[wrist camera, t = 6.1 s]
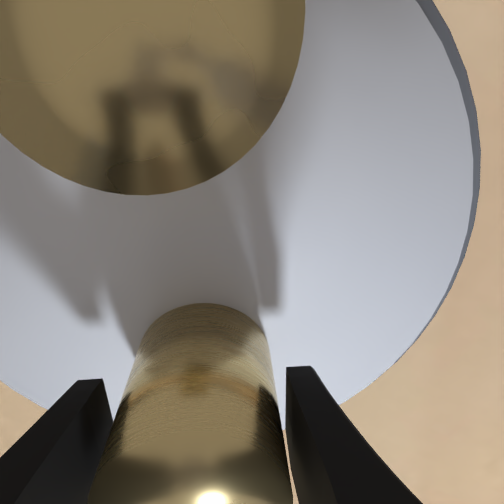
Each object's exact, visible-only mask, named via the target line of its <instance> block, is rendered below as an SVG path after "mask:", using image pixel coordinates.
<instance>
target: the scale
mask: <svg viewBox="0 0 504 504" xmlns="http://www.w3.org/2000/svg"><path fill="white" fill-rule="evenodd" d="M480 157H481V149H480V140H479V131H478V121H477V112H476V107H475V104H474V100H473V96H472V92H471V88H470V84H469V80H468V76H467V72H466V69H465V66H464V64H463V61H462V59H461V57H460V54H459V52H458V49H457V47H456V44H455V42H454V39H453V37H452V35H451V32H450V30H449V28H448V26H447V25H446V23H445V21H444V19H443V18H442V16H441V14H440V13H439V11H438V9H437V8H436V6H435V4H434V2H433V1H432V0H305V23H304V35H303V42H302V47H301V52H300V57H299V62H298V66H297V69H296V72H295V75H294V78H293V81H292V84H291V87H290V90H289V92H288V94H287V96H286V98H285V101H284V103H283V105H282V107H281V109H280V111H279V112H278V114H277V116H276V117H275V119H274V121H273V122H272V124H271V125H270V127H269V128H268V130H267V131H266V132H265V133H264V135H263V136H262V137H261V138H260V140H259V141H258V142H257V143H256V145H255V146H254V147H253V148H252V149H251V150H249V151H248V152H247V153H246V154H245V155H244V156H243V157H242V158H241V159H240V160H239V161H237V162H236V163H235V164H233V165H232V166H231V167H229V168H228V169H227V170H225V171H224V172H222V173H220V174H218V175H217V176H215V177H213V178H211V179H209V180H207V181H205V182H203V183H200V184H198V185H195V186H193V187H190V188H187V189H183V190H179V191H175V192H171V193H165V194H156V195H124V194H117V193H110V192H104V191H101V190H97V189H93V188H89V187H86V186H83V185H80V184H78V183H75V182H73V181H70V180H68V179H65V178H63V177H61V176H59V175H57V174H56V173H54V172H52V171H50V170H48V169H46V168H44V167H43V166H41V165H40V164H38V163H37V162H35V161H34V160H32V159H31V158H29V157H28V156H26V155H25V154H23V153H22V152H21V151H20V150H19V149H17V148H16V147H15V146H14V145H13V144H12V143H10V142H9V141H8V140H7V139H6V138H4V137H3V136H2V135H1V134H0V380H1V381H2V382H3V383H5V384H6V385H7V386H9V387H10V388H11V389H13V390H14V391H16V392H18V393H19V394H21V395H23V396H24V397H26V398H28V399H29V400H31V401H33V402H34V403H36V404H38V405H39V406H41V407H43V408H45V409H47V410H48V409H49V408H50V407H51V406H52V405H53V404H54V403H55V402H56V401H57V400H58V399H59V398H60V397H61V396H62V395H63V394H64V393H65V392H66V391H67V390H68V389H69V388H70V387H71V386H72V385H73V384H74V383H75V382H76V381H77V380H85V379H101V378H103V381H104V385H105V389H106V393H107V398H108V402H109V406H110V410H111V414H112V419H113V422H114V419H115V416H116V413H117V410H118V407H119V404H120V401H121V398H122V395H123V393H124V390H125V387H126V384H127V381H128V378H129V375H130V372H131V369H132V366H133V363H134V361H135V358H136V355H137V352H138V349H139V346H140V343H141V340H142V338H143V336H144V334H145V332H146V331H147V329H148V328H149V326H150V325H151V324H152V323H153V322H154V321H155V320H157V319H158V318H159V317H160V316H162V315H163V314H165V313H167V312H168V311H170V310H173V309H175V308H177V307H181V306H184V305H189V304H194V303H214V304H220V305H224V306H228V307H231V308H233V309H236V310H238V311H240V312H242V313H244V314H245V315H247V316H248V317H249V318H251V319H252V320H253V321H254V322H255V323H256V324H257V325H258V326H259V327H260V329H261V330H262V331H263V333H264V335H265V337H266V339H267V342H268V345H269V350H270V356H271V362H272V369H273V375H274V381H275V387H276V394H277V400H278V406H279V413H280V419H281V425H282V430H284V429H285V409H286V367H294V366H311V367H313V368H314V369H315V371H316V373H317V374H318V376H319V377H320V379H321V381H322V382H323V384H324V385H325V387H326V388H327V390H328V391H329V392H330V394H331V395H332V397H333V398H334V400H335V401H336V402H337V404H338V405H340V404H342V403H343V402H345V401H347V400H348V399H350V398H351V397H353V396H354V395H355V394H357V393H358V392H360V391H361V390H363V389H364V388H366V387H367V386H368V385H370V384H371V383H372V382H374V381H375V380H376V379H377V378H378V377H379V376H381V375H382V374H383V373H384V372H385V371H386V370H388V369H389V368H390V367H391V366H392V365H393V364H395V363H396V362H397V361H398V360H399V359H400V357H401V356H402V355H403V354H404V353H405V352H406V351H407V350H408V349H409V348H410V347H411V346H412V345H413V344H414V342H415V341H416V340H417V339H418V338H419V336H420V335H421V334H422V332H423V331H424V330H425V328H426V327H427V326H428V324H429V323H430V322H431V320H432V319H433V318H434V316H435V315H436V313H437V311H438V310H439V308H440V306H441V304H442V303H443V301H444V299H445V298H446V296H447V294H448V292H449V291H450V289H451V287H452V285H453V282H454V280H455V278H456V275H457V273H458V271H459V268H460V266H461V264H462V261H463V259H464V257H465V253H466V250H467V246H468V243H469V240H470V236H471V233H472V229H473V226H474V221H475V215H476V208H477V202H478V196H479V189H480Z"/></svg>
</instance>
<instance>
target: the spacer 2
mask: <svg viewBox="0 0 504 504" xmlns="http://www.w3.org/2000/svg"><path fill="white" fill-rule="evenodd" d="M88 504H293V494H292V488H291V482H290V475H289V469H288V463H287V456H286V450H285V444H284V438H283V431H282V425H281V419H280V413H279V406H278V400H277V394H276V387H275V381H274V375H273V369H272V362H271V356H270V350H269V345H268V342H267V339H266V337H265V335H264V333H263V331H262V330H261V329H260V327H259V326H258V325H257V324H256V323H255V322H254V321H253V320H252V319H251V318H249V317H248V316H247V315H245V314H244V313H242V312H240V311H238V310H236V309H233V308H231V307H228V306H224V305H220V304H214V303H194V304H189V305H184V306H181V307H177V308H175V309H173V310H170V311H168V312H167V313H165V314H163V315H162V316H160V317H159V318H158V319H157V320H155V321H154V322H153V323H152V324H151V325H150V326H149V328H148V329H147V331H146V332H145V334H144V336H143V338H142V340H141V343H140V346H139V349H138V352H137V355H136V358H135V361H134V363H133V366H132V369H131V372H130V375H129V378H128V381H127V384H126V387H125V390H124V393H123V395H122V398H121V401H120V404H119V407H118V410H117V413H116V416H115V419H114V422H113V424H112V427H111V430H110V433H109V436H108V439H107V442H106V445H105V448H104V451H103V454H102V456H101V459H100V462H99V465H98V468H97V471H96V474H95V477H94V480H93V483H92V486H91V489H90V492H89V495H88Z"/></svg>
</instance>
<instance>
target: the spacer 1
mask: <svg viewBox="0 0 504 504" xmlns="http://www.w3.org/2000/svg"><path fill="white" fill-rule="evenodd" d="M304 23H305V0H0V134H1V135H2V136H3V137H4V138H6V139H7V140H8V141H9V142H10V143H12V144H13V145H14V146H15V147H16V148H17V149H19V150H20V151H21V152H22V153H23V154H25V155H26V156H28V157H29V158H31V159H32V160H34V161H35V162H37V163H38V164H40V165H41V166H43V167H44V168H46V169H48V170H50V171H52V172H54V173H56V174H57V175H59V176H61V177H63V178H65V179H68V180H70V181H73V182H75V183H78V184H80V185H83V186H86V187H89V188H93V189H97V190H101V191H104V192H110V193H117V194H124V195H156V194H165V193H171V192H175V191H179V190H183V189H187V188H190V187H193V186H195V185H198V184H200V183H203V182H205V181H207V180H209V179H211V178H213V177H215V176H217V175H218V174H220V173H222V172H224V171H225V170H227V169H228V168H229V167H231V166H232V165H233V164H235V163H236V162H237V161H239V160H240V159H241V158H242V157H243V156H244V155H245V154H246V153H247V152H248V151H249V150H251V149H252V148H253V147H254V146H255V145H256V143H257V142H258V141H259V140H260V138H261V137H262V136H263V135H264V133H265V132H266V131H267V130H268V128H269V127H270V125H271V124H272V122H273V121H274V119H275V117H276V116H277V114H278V112H279V111H280V109H281V107H282V105H283V103H284V101H285V98H286V96H287V94H288V92H289V90H290V87H291V84H292V81H293V78H294V75H295V72H296V69H297V66H298V62H299V57H300V52H301V47H302V42H303V35H304Z"/></svg>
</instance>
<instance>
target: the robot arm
mask: <svg viewBox="0 0 504 504" xmlns="http://www.w3.org/2000/svg"><path fill="white" fill-rule="evenodd" d="M112 424H113V419H112V414H111V410H110V406H109V402H108V398H107V393H106V389H105V385H104V381H103V378H101V379H85V380H77V381H76V382H75V383H74V384H73V385H72V386H71V387H70V388H69V389H68V390H67V391H66V392H65V393H64V394H63V395H62V396H61V397H60V398H59V399H58V400H57V401H56V402H55V403H54V404H53V405H52V406H51V407H50V408H49V409H48V410H47V411H46V413H45V414H44V415H43V416H42V417H41V418H40V419H39V420H38V421H37V422H36V423H35V424H34V425H33V426H32V427H31V428H30V429H29V430H28V431H27V432H26V433H25V434H24V435H23V436H22V437H21V438H20V439H19V440H18V441H17V442H16V443H15V444H14V445H13V446H12V447H11V448H10V449H9V450H8V451H6V452H5V453H4V454H3V455H2V456H1V457H0V504H88V495H89V492H90V489H91V486H92V483H93V480H94V477H95V474H96V471H97V468H98V465H99V462H100V459H101V456H102V454H103V451H104V448H105V445H106V442H107V439H108V436H109V433H110V430H111V427H112ZM285 429H286V436H287V444H288V451H289V458H290V465H291V471H292V476H293V480H294V484H295V489H296V493H297V497H298V501H299V504H423V503H422V502H421V501H420V500H419V499H418V498H417V497H416V496H415V495H414V494H413V493H412V492H411V491H410V490H409V489H408V488H407V487H406V486H405V485H404V484H403V482H402V481H401V480H400V479H399V478H398V477H397V476H396V475H395V474H394V473H393V471H392V470H391V469H390V468H389V467H388V466H387V465H386V463H385V462H384V461H383V460H382V459H381V458H380V457H379V455H378V454H377V453H376V452H375V451H374V450H373V448H372V447H371V446H370V445H369V444H368V442H367V441H366V440H365V439H364V437H363V436H362V435H361V434H360V432H359V431H358V430H357V429H356V427H355V426H354V425H353V424H352V422H351V421H350V420H349V419H348V417H347V416H346V415H345V413H344V412H343V411H342V409H341V408H340V406H339V405H338V404H337V402H336V401H335V400H334V398H333V397H332V395H331V394H330V392H329V391H328V390H327V388H326V387H325V385H324V384H323V382H322V381H321V379H320V377H319V376H318V374H317V373H316V371H315V369H314V368H313V367H311V366H294V367H286V409H285Z"/></svg>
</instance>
